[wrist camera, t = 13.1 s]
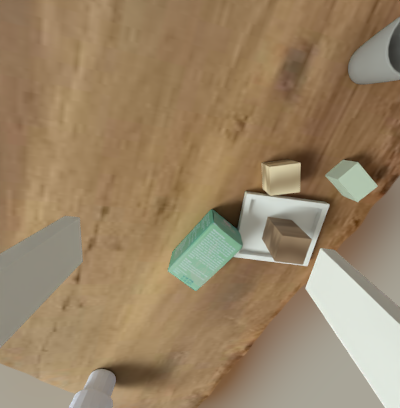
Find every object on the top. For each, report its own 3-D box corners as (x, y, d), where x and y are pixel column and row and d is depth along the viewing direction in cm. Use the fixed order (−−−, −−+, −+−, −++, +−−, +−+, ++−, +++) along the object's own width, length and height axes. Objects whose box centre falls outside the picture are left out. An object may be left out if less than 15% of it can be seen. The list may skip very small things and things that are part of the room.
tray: (245, 190, 39) (247, 193, 38) (324, 201, 40) (329, 204, 38) (232, 252, 44) (233, 256, 42) (303, 261, 44) (307, 266, 43)
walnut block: (267, 216, 41) (282, 235, 33) (291, 219, 41) (312, 239, 33) (261, 238, 42) (274, 261, 35) (285, 241, 42) (302, 264, 35)
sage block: (324, 175, 38) (337, 179, 35) (342, 159, 37) (358, 162, 34) (342, 195, 40) (357, 202, 36) (360, 181, 39) (377, 186, 35)
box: (238, 227, 42) (245, 246, 35) (197, 268, 46) (196, 293, 39) (212, 206, 41) (214, 221, 34) (172, 250, 44) (165, 272, 37)
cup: (359, 27, 31) (414, -11, 23) (413, 54, 32) (484, 27, 24) (331, 80, 33) (373, 63, 25) (382, 104, 34) (437, 95, 26)
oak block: (261, 162, 38) (269, 166, 33) (288, 159, 38) (300, 162, 33) (262, 188, 39) (270, 195, 35) (288, 185, 39) (300, 192, 34)
